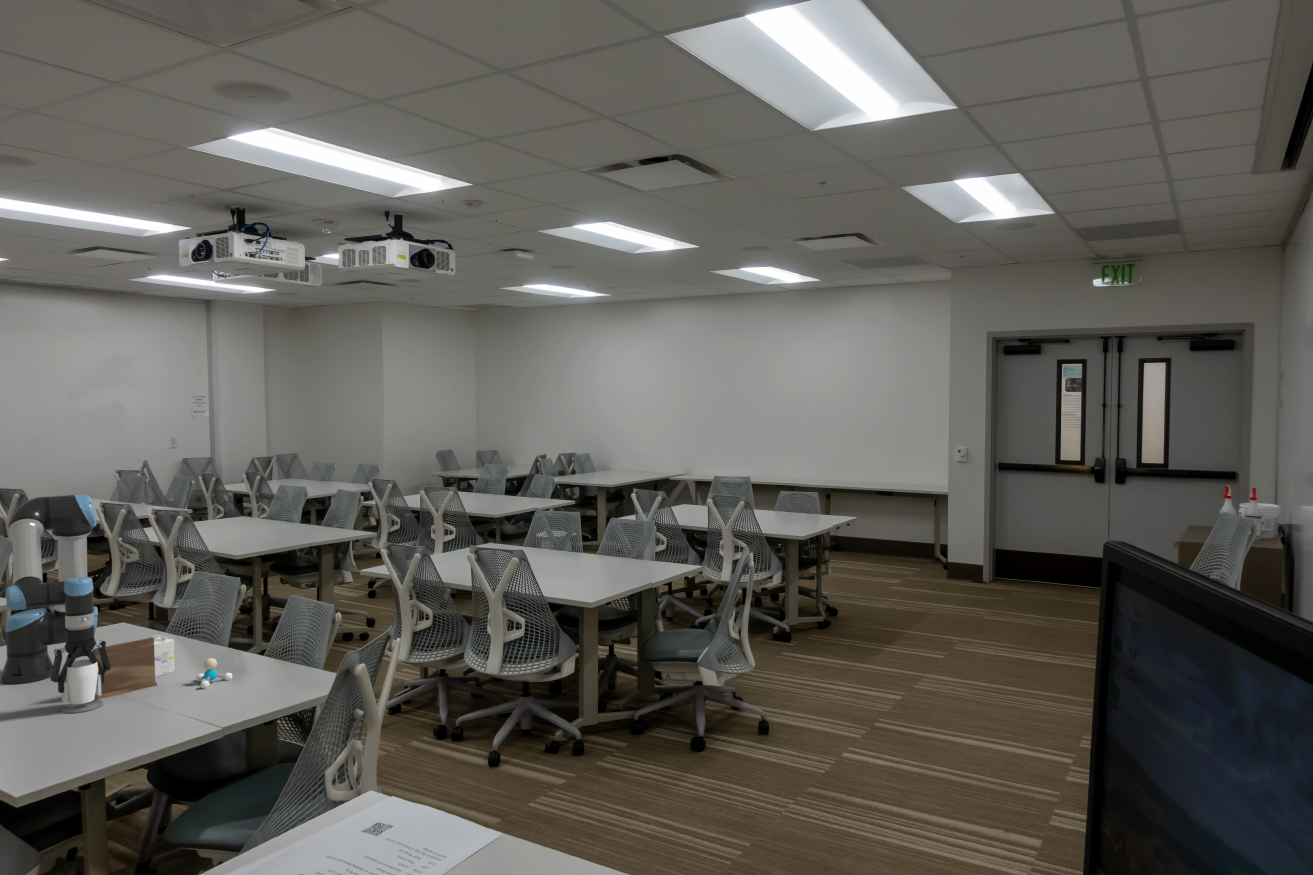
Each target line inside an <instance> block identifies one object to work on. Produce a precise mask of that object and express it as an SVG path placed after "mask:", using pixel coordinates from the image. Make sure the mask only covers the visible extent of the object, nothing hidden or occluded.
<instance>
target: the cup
mask: <svg viewBox="0 0 1313 875" xmlns="http://www.w3.org/2000/svg"><path fill="white" fill-rule="evenodd" d="M97 677H98V663H97V662H96V663H94V664H92V663H91V661H90V659H89V658H88V659H81V660H79V659H78V660H75V661H74V662H73V664H72V666H71V668H70V667H67V677H66V679H65V681H66V682H67V685H68V704H84V703H88V702H91V701H93V700H96V698H95V692H96V684H97Z"/></svg>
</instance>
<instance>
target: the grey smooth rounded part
mask: <svg viewBox="0 0 1313 875" xmlns="http://www.w3.org/2000/svg"><path fill="white" fill-rule="evenodd" d="M103 705H104V701H103V700H101V699H94V700H93V701H91V702H88V703H84V704H70V703H67V704H65V705H63V706H62V707H61V708H60V712H61V713H63V714H66V715H67V714H68V715H69V714H72V715H73V714H80V713H81V714H82V713H87V712H91V711H95V710H97V709H99V708H101V707H102V706H103Z"/></svg>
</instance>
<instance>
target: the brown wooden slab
mask: <svg viewBox="0 0 1313 875" xmlns="http://www.w3.org/2000/svg"><path fill="white" fill-rule="evenodd" d="M150 637H151V636H150ZM150 637H147V638H141V639H138V640H137V639H136V640H132V641H127V642H123V643H117V644H112V645H108V646H105V649H106V653H107V656H108V660H109V664H110V667H111V669H110V670H109V671H106V672H105V674H104V683H102V684H101V695H97V694H95V700H101V699H105V698H106V699H107V698H110V697H115V696H117V695H121V694H126V693H130V692H134V691H139V690H142V689H146V688H150V687H151V688H152V687H156V686H158V685H157V684H158V683H157V681H156V677H155V656H154V638H152V637H151V638H150ZM92 652H93V653H94V655H95V657H96V659H97V660H98V662H99V663H100V665H101V666H102V668H103V664H102V661H101V657H100V654H99V650H98V647H96V648H93V649H92Z"/></svg>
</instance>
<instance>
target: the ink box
mask: <svg viewBox="0 0 1313 875" xmlns="http://www.w3.org/2000/svg"><path fill="white" fill-rule="evenodd" d="M151 637H152V638H154V656H155V678H158V677H161V676H164V675H167V674H171V673H174V672H175V671H176V669H175V668H176V667H175V665H176V664H175V663H176V661H175V639H171V638H168V636H166V635H160V634H155V633H154V634H152V635H151V636H150V637H149V638H151Z"/></svg>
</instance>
